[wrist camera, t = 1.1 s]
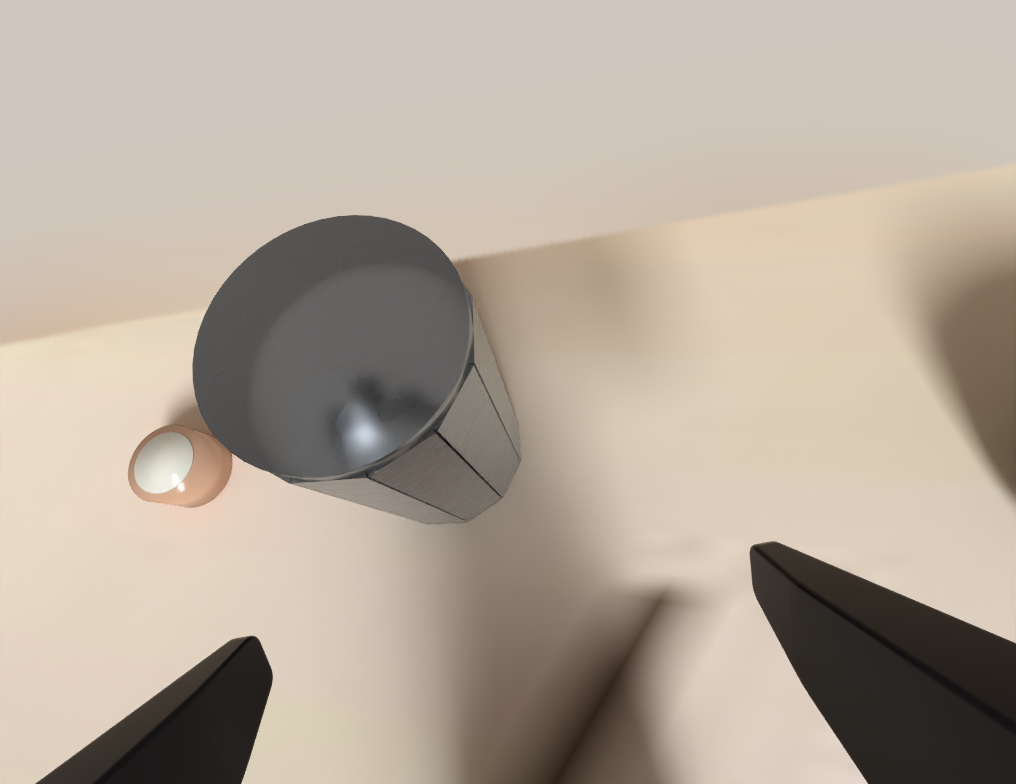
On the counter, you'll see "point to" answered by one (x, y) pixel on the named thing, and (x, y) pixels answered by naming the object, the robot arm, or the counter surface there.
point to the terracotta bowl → (179, 467)
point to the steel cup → (359, 372)
